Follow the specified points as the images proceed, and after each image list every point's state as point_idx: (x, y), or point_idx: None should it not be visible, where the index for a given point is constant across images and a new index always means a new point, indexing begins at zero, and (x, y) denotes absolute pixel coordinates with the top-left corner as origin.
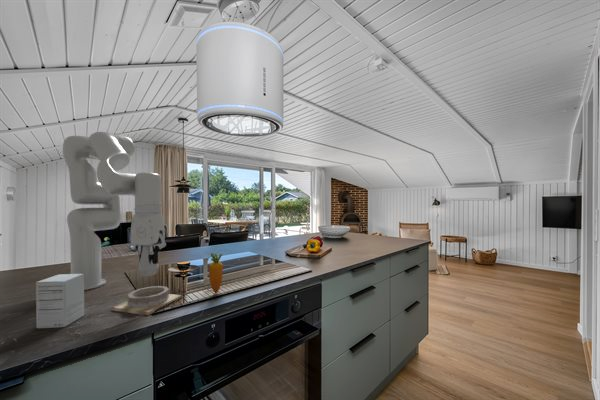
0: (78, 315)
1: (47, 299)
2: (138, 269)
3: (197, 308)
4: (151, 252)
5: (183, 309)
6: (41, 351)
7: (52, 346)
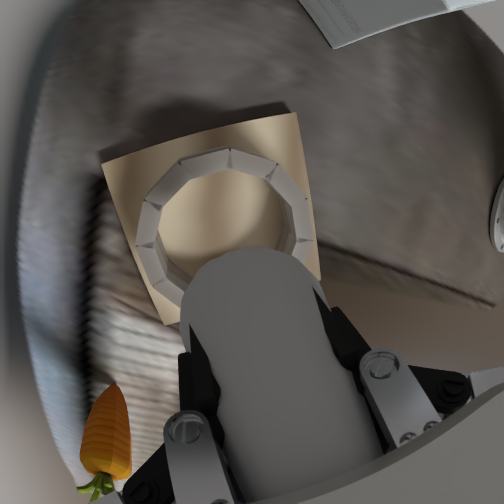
0: (320, 21)
1: None
2: (291, 256)
3: (37, 292)
4: (189, 434)
5: (58, 264)
6: None
7: None
